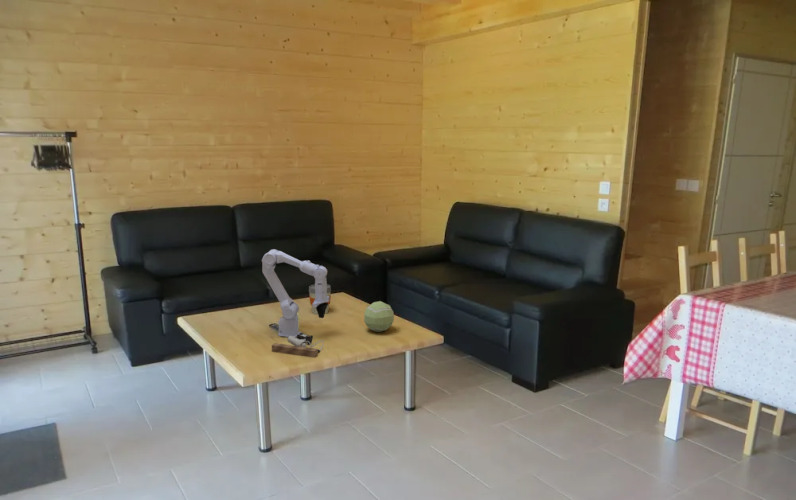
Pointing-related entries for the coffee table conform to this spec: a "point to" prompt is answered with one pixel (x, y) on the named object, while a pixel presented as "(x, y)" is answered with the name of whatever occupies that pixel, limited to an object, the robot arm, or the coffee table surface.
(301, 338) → the clip-on lamp
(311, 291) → the reusable coffee cup
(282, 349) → the bar
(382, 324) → the decorative sphere
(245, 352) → the coffee table surface
